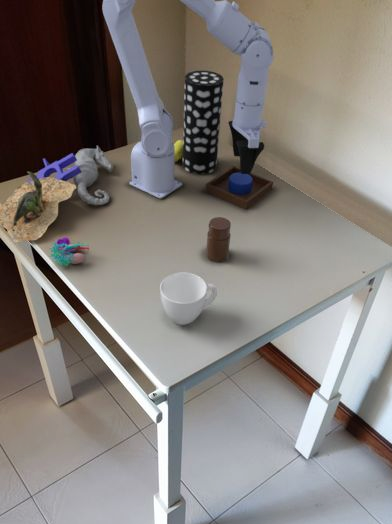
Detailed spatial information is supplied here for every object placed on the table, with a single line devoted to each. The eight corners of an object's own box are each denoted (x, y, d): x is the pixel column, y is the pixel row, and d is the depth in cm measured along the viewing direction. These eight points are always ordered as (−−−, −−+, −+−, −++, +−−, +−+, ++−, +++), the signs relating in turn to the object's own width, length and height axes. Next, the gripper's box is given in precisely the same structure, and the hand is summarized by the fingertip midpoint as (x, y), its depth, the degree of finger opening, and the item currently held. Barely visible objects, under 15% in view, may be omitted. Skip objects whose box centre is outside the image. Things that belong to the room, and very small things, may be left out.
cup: (154, 307, 87) (153, 277, 82) (206, 294, 90) (208, 265, 85) (169, 337, 83) (169, 308, 77) (223, 323, 85) (227, 294, 80)
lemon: (172, 143, 125) (181, 156, 127) (162, 155, 119) (172, 168, 121) (184, 133, 122) (193, 147, 124) (174, 146, 117) (184, 159, 119)
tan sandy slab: (-36, 208, 98) (-12, 236, 104) (5, 220, 90) (29, 250, 96) (24, 151, 104) (43, 181, 110) (67, 157, 97) (86, 189, 102)
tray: (205, 191, 113) (205, 184, 112) (232, 172, 119) (233, 165, 118) (246, 209, 109) (247, 202, 108) (272, 189, 115) (273, 181, 114)
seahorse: (130, 196, 107) (107, 140, 117) (77, 193, 102) (58, 135, 112) (124, 214, 111) (103, 159, 121) (73, 212, 106) (55, 155, 116)
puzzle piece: (85, 181, 106) (81, 176, 104) (37, 208, 107) (33, 204, 106) (72, 148, 109) (68, 143, 108) (26, 175, 111) (22, 170, 109)
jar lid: (253, 194, 113) (254, 184, 111) (230, 195, 112) (231, 185, 110) (248, 182, 116) (249, 172, 114) (226, 183, 115) (227, 172, 113)
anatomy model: (90, 225, 95) (53, 222, 94) (86, 252, 89) (47, 248, 88) (90, 247, 98) (55, 244, 97) (86, 273, 93) (49, 270, 92)
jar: (201, 256, 97) (203, 224, 92) (213, 245, 100) (215, 213, 94) (221, 265, 96) (224, 232, 90) (232, 253, 98) (236, 221, 93)
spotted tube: (200, 153, 125) (205, 67, 110) (223, 167, 121) (231, 79, 106) (175, 163, 121) (176, 75, 106) (198, 177, 117) (203, 88, 102)
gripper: (278, 115, 95) (267, 180, 105) (261, 85, 105) (252, 148, 115) (242, 116, 94) (234, 181, 104) (228, 85, 104) (222, 148, 114)
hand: (241, 164), depth 109 cm, fingers open, 7 cm apart
